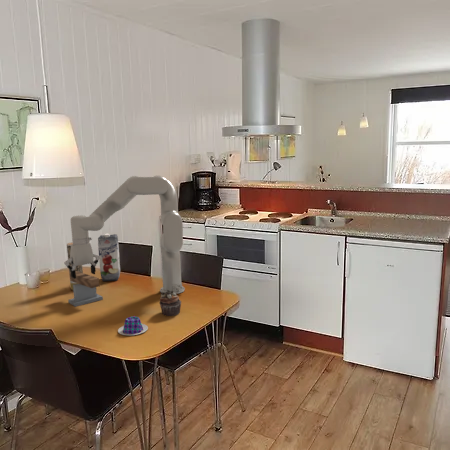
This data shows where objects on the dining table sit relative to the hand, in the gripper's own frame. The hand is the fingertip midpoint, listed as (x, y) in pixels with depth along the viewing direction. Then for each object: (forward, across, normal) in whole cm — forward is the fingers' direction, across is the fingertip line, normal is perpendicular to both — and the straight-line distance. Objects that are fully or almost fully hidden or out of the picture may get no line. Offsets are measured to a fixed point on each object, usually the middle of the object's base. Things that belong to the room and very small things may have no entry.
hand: (83, 275), depth 210 cm
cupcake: (+13, -21, +43) cm, 50 cm away
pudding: (+13, +1, +48) cm, 50 cm away
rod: (+4, 0, 0) cm, 4 cm away
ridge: (+13, 0, 0) cm, 13 cm away
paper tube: (+13, -5, -22) cm, 26 cm away
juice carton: (+13, -26, -25) cm, 38 cm away
